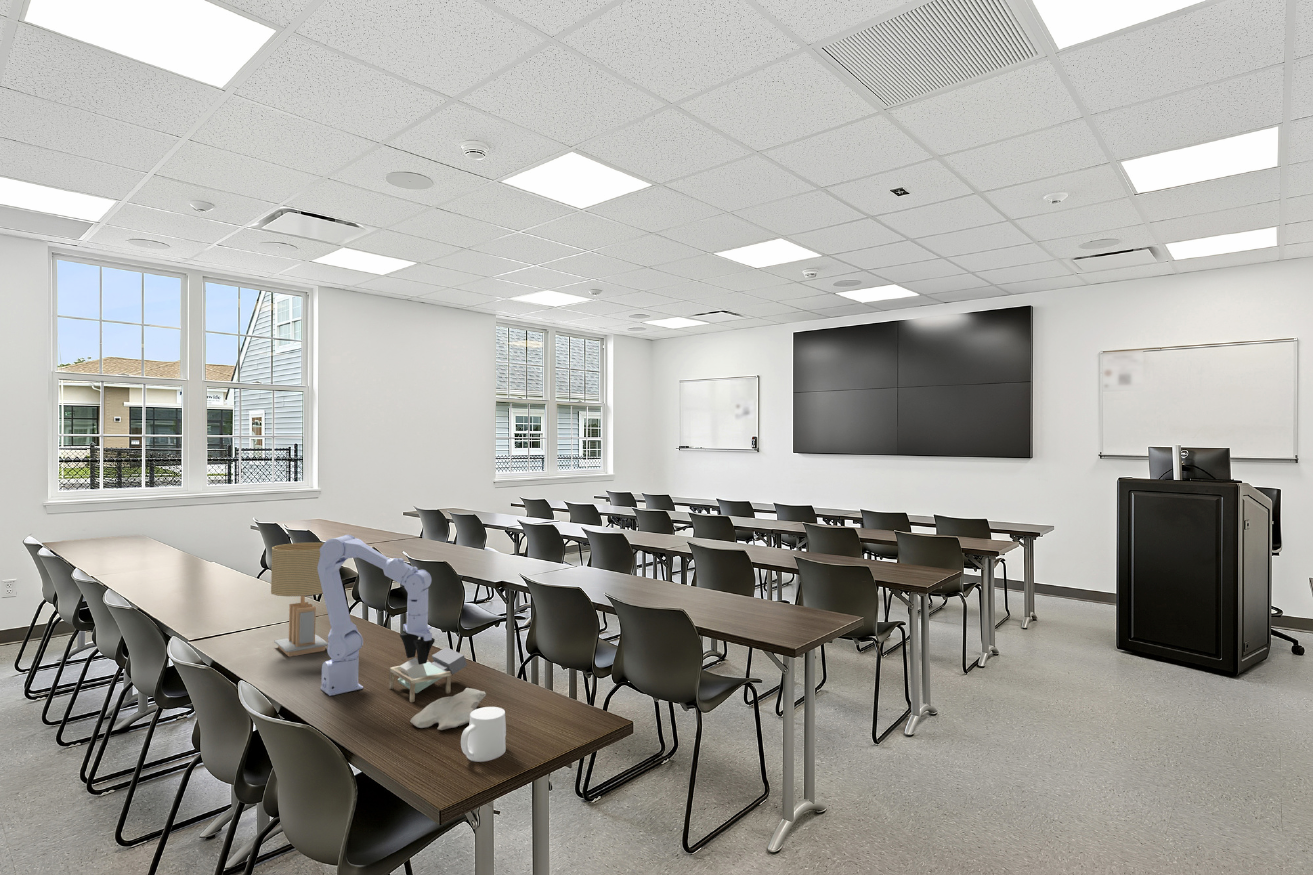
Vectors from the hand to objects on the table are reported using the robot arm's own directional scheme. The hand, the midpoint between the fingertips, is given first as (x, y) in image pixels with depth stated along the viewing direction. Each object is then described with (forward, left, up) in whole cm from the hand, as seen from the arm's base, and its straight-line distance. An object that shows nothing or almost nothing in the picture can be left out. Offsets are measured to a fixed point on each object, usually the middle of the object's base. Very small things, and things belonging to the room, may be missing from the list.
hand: (416, 660), depth 203 cm
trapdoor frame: (+1, 0, -9) cm, 9 cm away
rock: (-1, -26, -9) cm, 28 cm away
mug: (-6, -50, -9) cm, 51 cm away
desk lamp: (-12, +64, -9) cm, 66 cm away
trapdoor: (+6, 0, -6) cm, 8 cm away
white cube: (0, 0, -5) cm, 5 cm away
